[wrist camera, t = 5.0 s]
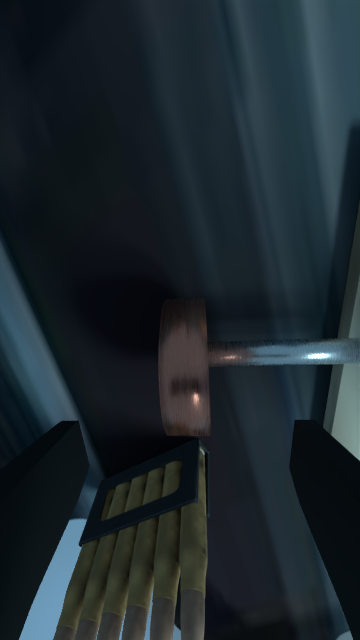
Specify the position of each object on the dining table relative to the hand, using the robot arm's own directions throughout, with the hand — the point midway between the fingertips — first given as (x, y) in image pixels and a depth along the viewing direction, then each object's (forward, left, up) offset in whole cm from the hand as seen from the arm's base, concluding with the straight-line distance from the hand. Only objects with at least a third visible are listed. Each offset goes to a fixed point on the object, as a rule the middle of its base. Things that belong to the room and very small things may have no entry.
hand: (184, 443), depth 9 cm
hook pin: (-5, 0, -9) cm, 10 cm away
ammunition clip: (+4, +13, -10) cm, 17 cm away
